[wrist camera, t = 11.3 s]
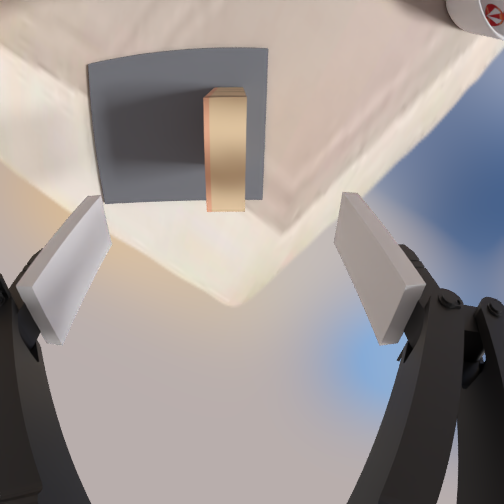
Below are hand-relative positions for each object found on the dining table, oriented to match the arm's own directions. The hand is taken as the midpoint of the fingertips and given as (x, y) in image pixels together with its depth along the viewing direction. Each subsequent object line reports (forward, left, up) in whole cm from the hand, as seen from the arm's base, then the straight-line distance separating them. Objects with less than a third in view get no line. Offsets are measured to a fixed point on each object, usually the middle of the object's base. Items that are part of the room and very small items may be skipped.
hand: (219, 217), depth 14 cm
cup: (-22, +29, -22) cm, 43 cm away
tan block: (0, 0, -22) cm, 22 cm away
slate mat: (0, -6, -22) cm, 23 cm away
